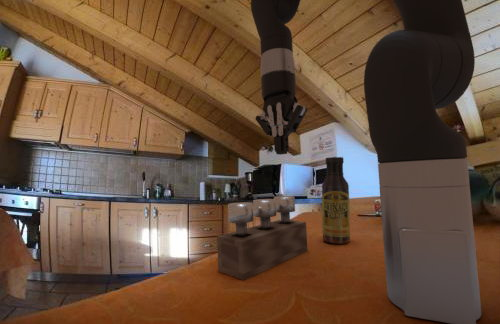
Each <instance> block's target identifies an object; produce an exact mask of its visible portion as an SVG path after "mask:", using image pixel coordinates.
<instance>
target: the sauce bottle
mask: <svg viewBox="0 0 500 324" xmlns="http://www.w3.org/2000/svg"><path fill="white" fill-rule="evenodd" d="M325 164H326V176H325V178H324V179H323V182H322V184H321V222H322V224H321V227H322V228H321V229H322V232H321V233H322V239H323V241H324V242H326V243H329V244H335V245H343V244H344V245H345V244H348V243H349V242H350V241H351V238H350V237H351V211H350V208H351V206H350V191H349V187H350V186H349V182H348V180H346V179H345V177H344V166H343V165H344V157H343V156H331V157H325Z"/></svg>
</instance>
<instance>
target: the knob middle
mask: <svg viewBox="0 0 500 324" xmlns="http://www.w3.org/2000/svg"><path fill="white" fill-rule="evenodd" d="M252 203H253V218H259V223H260V224H259V225H260V228H261V230H266V231H267V230H270V229H271V222H272V221H271V218H273V217H276V216H277V212H276V200H275V199H274V198H259V199H253V200H252Z"/></svg>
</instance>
